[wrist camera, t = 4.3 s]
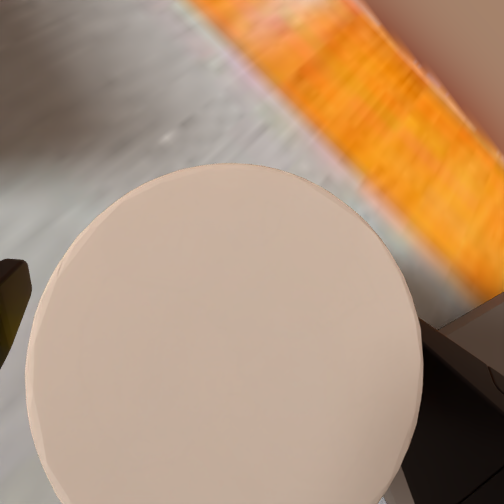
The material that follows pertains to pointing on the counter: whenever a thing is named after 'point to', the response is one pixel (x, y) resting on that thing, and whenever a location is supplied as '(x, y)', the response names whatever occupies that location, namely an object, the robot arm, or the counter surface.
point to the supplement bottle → (225, 349)
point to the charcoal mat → (478, 344)
